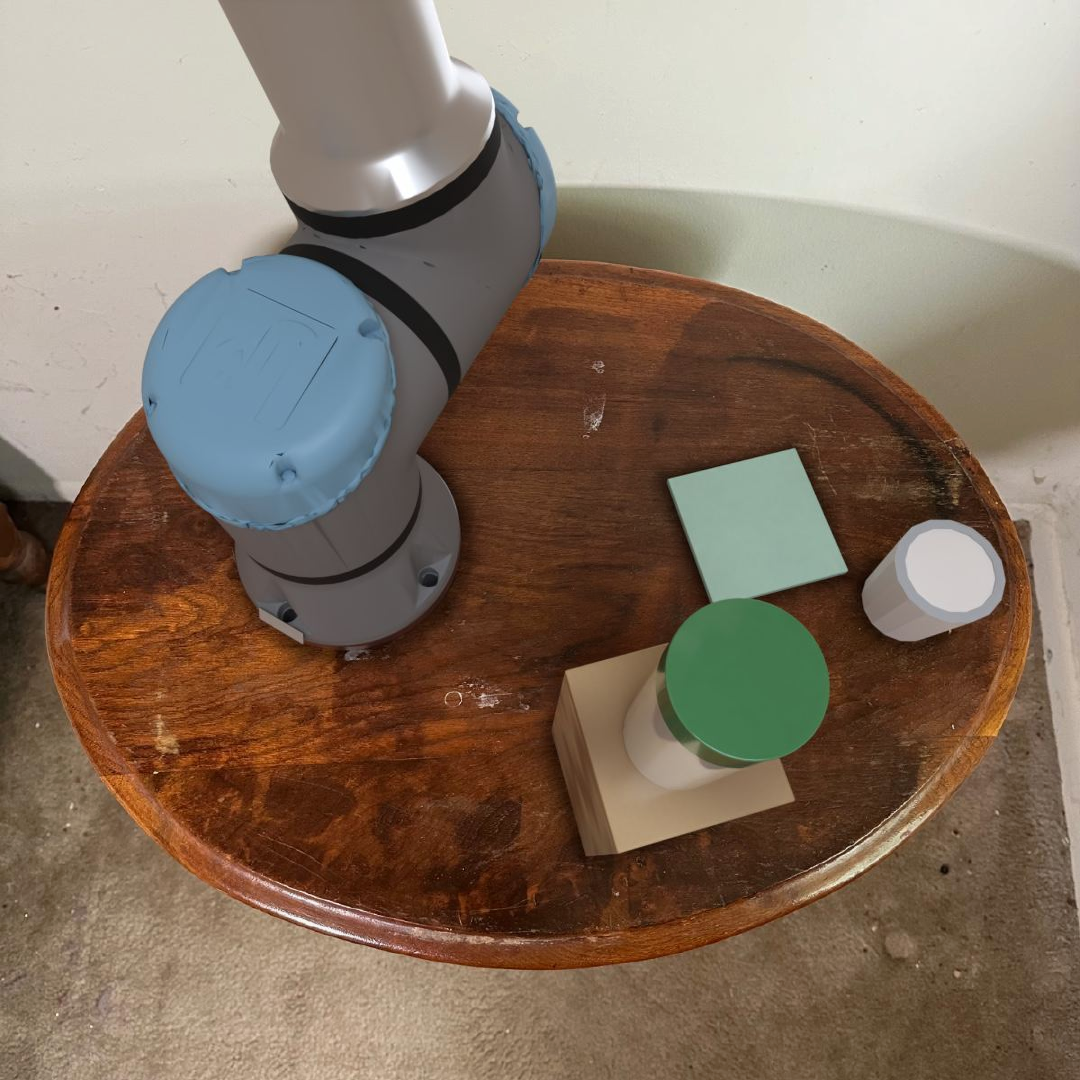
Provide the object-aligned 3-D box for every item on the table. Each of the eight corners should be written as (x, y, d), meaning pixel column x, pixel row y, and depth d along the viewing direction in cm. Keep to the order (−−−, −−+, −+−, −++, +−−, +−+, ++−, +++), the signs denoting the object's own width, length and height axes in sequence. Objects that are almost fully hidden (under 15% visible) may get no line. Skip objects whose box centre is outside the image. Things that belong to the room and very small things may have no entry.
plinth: (551, 729, 54) (564, 670, 37) (666, 697, 55) (731, 625, 38) (585, 856, 51) (617, 853, 34) (707, 820, 52) (796, 800, 35)
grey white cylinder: (950, 659, 56) (1007, 633, 50) (849, 639, 56) (892, 610, 50) (952, 566, 58) (1006, 529, 52) (855, 547, 59) (897, 508, 52)
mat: (666, 482, 60) (667, 478, 60) (792, 451, 62) (795, 447, 61) (712, 609, 57) (714, 606, 56) (845, 573, 58) (848, 570, 58)
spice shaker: (606, 693, 37) (643, 620, 25) (711, 664, 37) (793, 580, 26) (640, 807, 35) (697, 782, 24) (751, 775, 36) (856, 735, 24)
